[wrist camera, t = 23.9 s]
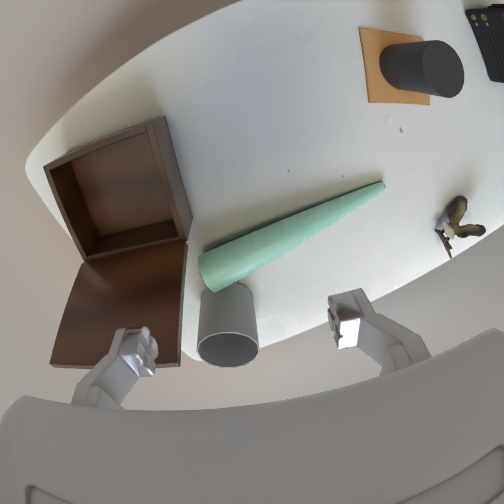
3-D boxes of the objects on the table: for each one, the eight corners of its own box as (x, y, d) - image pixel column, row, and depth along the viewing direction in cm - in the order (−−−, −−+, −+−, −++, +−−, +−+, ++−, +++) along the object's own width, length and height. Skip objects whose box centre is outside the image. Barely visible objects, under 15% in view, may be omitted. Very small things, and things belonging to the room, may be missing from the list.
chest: (66, 153, 28) (42, 166, 23) (165, 116, 28) (152, 122, 23) (100, 239, 36) (84, 262, 31) (193, 218, 35) (187, 241, 30)
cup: (201, 318, 45) (198, 367, 37) (199, 280, 41) (194, 331, 33) (251, 318, 46) (256, 367, 38) (255, 281, 42) (262, 332, 33)
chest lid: (49, 363, 20) (54, 367, 20) (176, 363, 19) (180, 366, 20) (81, 262, 30) (84, 267, 31) (186, 240, 30) (188, 246, 30)
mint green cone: (405, 216, 31) (218, 300, 36) (386, 199, 36) (218, 274, 40) (399, 179, 28) (195, 272, 33) (378, 165, 33) (199, 247, 38)
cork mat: (358, 28, 22) (359, 28, 22) (421, 38, 22) (423, 38, 22) (368, 102, 28) (369, 102, 28) (428, 104, 28) (430, 105, 27)
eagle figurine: (445, 252, 41) (481, 226, 36) (454, 264, 34) (494, 234, 30) (426, 217, 41) (462, 190, 36) (433, 224, 35) (474, 192, 30)
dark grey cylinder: (369, 63, 25) (412, 61, 17) (395, 35, 22) (440, 29, 15) (402, 99, 27) (446, 109, 20) (425, 71, 24) (471, 76, 17)
